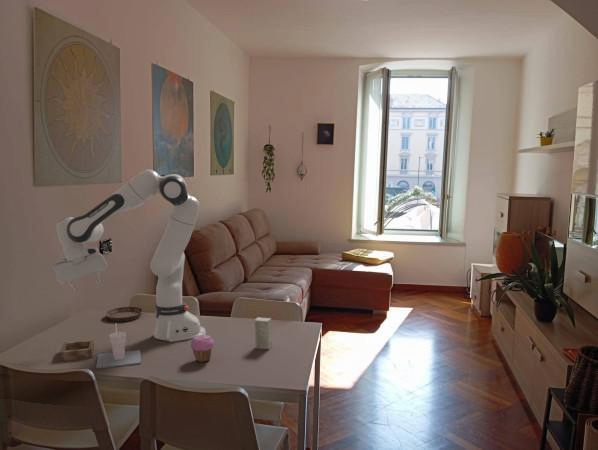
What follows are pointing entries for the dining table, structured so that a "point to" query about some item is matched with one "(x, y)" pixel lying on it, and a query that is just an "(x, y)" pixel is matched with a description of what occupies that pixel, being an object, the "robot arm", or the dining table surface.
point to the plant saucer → (124, 313)
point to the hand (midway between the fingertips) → (87, 286)
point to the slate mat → (108, 360)
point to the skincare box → (263, 333)
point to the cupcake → (202, 347)
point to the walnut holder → (77, 350)
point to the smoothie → (118, 344)
